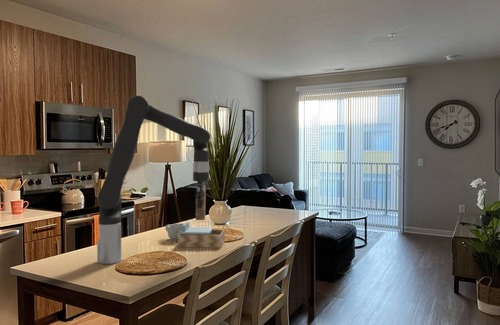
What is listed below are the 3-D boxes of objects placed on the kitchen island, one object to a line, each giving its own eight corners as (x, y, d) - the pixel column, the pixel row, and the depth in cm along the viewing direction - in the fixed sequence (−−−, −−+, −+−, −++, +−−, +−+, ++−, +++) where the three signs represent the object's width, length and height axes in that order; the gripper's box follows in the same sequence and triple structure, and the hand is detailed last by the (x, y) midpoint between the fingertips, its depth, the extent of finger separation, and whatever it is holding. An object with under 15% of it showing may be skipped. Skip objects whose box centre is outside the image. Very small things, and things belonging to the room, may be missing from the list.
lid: (179, 234, 187) (179, 226, 187) (185, 228, 200) (185, 221, 200) (209, 234, 187) (209, 226, 186) (213, 229, 199) (213, 221, 199)
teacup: (191, 239, 206) (191, 225, 206) (175, 243, 198) (175, 228, 198) (176, 235, 216) (176, 221, 216) (160, 238, 208) (160, 224, 208)
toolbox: (178, 248, 187) (177, 234, 187) (183, 242, 200) (183, 229, 200) (221, 249, 186) (221, 235, 186) (224, 242, 199) (224, 229, 199)
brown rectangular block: (195, 219, 176) (196, 190, 175) (197, 218, 180) (197, 189, 179) (204, 220, 176) (204, 190, 175) (205, 218, 180) (205, 189, 179)
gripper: (195, 170, 184) (195, 204, 185) (190, 171, 170) (189, 209, 171) (210, 170, 184) (210, 205, 185) (206, 172, 170) (206, 209, 170)
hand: (200, 206), depth 178 cm, fingers closed on brown rectangular block, 4 cm apart
